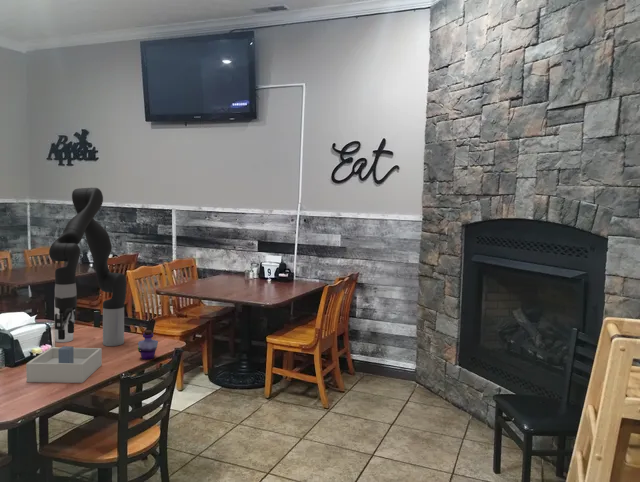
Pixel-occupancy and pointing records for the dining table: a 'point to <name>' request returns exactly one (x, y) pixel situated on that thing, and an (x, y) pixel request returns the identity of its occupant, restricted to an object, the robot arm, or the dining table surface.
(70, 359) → the peg
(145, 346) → the potion bottle
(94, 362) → the walled box
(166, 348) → the dining table surface
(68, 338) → the bottle
